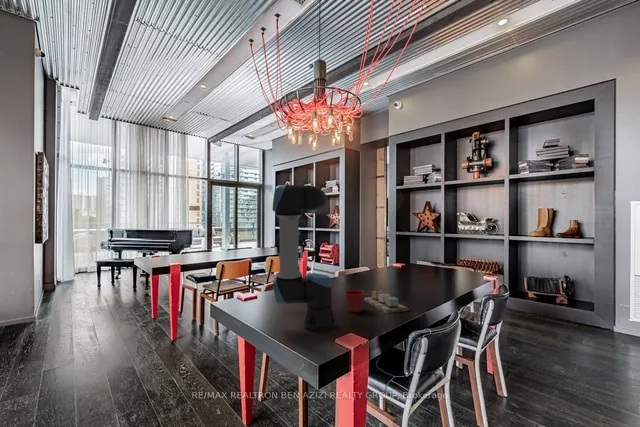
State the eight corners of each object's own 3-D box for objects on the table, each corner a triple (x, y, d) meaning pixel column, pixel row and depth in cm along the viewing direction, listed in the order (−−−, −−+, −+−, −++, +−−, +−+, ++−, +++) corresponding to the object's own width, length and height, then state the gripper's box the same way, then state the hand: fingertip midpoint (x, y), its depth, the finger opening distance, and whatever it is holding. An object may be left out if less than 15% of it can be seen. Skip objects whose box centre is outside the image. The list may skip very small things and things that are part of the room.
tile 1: (390, 301, 162) (390, 295, 162) (382, 302, 160) (382, 295, 161) (386, 299, 167) (385, 293, 167) (378, 300, 165) (378, 293, 165)
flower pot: (341, 311, 152) (341, 293, 153) (349, 306, 162) (349, 289, 162) (360, 314, 147) (360, 295, 148) (367, 308, 157) (367, 290, 157)
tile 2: (398, 305, 154) (398, 298, 154) (390, 306, 153) (390, 299, 153) (393, 303, 159) (393, 296, 159) (385, 304, 158) (385, 297, 158)
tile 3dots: (383, 298, 170) (383, 291, 170) (375, 299, 168) (375, 292, 168) (379, 296, 174) (379, 290, 174) (371, 297, 173) (371, 290, 173)
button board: (408, 310, 153) (408, 307, 153) (386, 313, 149) (386, 310, 149) (382, 298, 178) (382, 296, 178) (363, 300, 174) (363, 297, 174)
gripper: (308, 223, 184) (308, 256, 183) (269, 223, 175) (269, 258, 175) (311, 223, 177) (312, 257, 176) (271, 223, 168) (271, 259, 167)
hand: (291, 258), depth 175 cm, fingers open, 13 cm apart
